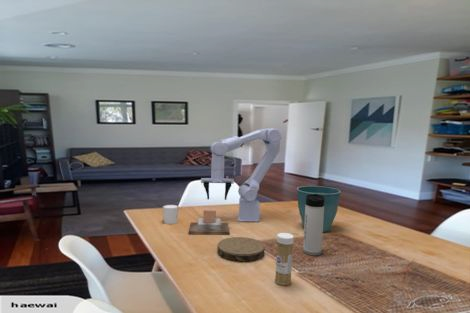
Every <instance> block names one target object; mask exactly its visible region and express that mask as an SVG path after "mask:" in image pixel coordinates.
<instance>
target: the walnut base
mask: <svg viewBox="0 0 470 313" xmlns="http://www.w3.org/2000/svg"><path fill="white" fill-rule="evenodd" d="M229 227H230V226H229V222H221V218H219V217H218V218H217V217H216V223H203V217H198V221H196V222H195V221H194V222H192V221H191V222H190V223H189V228H188V235H204V236H207V235H208V236H209V235H210V236H212V235H214V236H216V235H217V236H218V235H220V236H230V228H229Z"/></svg>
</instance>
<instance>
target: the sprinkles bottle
mask: <svg viewBox="0 0 470 313" xmlns="http://www.w3.org/2000/svg"><path fill="white" fill-rule="evenodd" d="M294 238H295V237H294V235H293V234H292V233H286V232H280V233H279V232H278V233H277V236H276V244H277V245H276V259H275V276H274V282H275V283H276V284H278V285H280V286H288V285H289V286H290V284H291V283H292V270H293V269H292V268H293V248H294V247H293V245H294V241H295V240H294Z"/></svg>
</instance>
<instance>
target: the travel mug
mask: <svg viewBox="0 0 470 313" xmlns="http://www.w3.org/2000/svg"><path fill="white" fill-rule="evenodd" d="M324 200H325V198H324V197H323V196H321V195H319V194H312V195H307V196H306V206H305V224H304V228H303V242H302V243H303V245H302V252H303V253H304V254H306V255H309V256H320V255H321V254H322V251H323V250H322V249H323V248H322V247H323V234H324V232H323V219H324Z"/></svg>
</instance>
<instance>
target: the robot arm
mask: <svg viewBox="0 0 470 313" xmlns="http://www.w3.org/2000/svg"><path fill="white" fill-rule="evenodd" d="M280 132H281V131H280V130H279V129H278V128H276V127H275V128H270V127H269V128H268V127H265V128H262V129H257V130H255V131H251V132H250V133H247V134H244V135H242V136H238V135H233V134H231V135H229V137H228V138H225V139H223V138H222V139H220V141H215V142H213V143H212V144H211V145H210V148H209V149H210V152H211V165H210V168H211V170H210V173H211V174H210V177H201V178H200V184H202V185H203V187H204V190H205V193H206V197H207V198H206V199H207V200H210V184H224V185H225V187H224V189H225V190H224V191H225V192H224V201H225V200H227V197H228V194H229V192H230V189H231V188H232V185H233V184H234V183H235V179H234V178H228V177H227V178H225V154H226V153H228V152H231V151H235V150H236V149H237V150H238V149H240V148H241V147H242V145H243V144H246V143H249V142H253V141H255V140H262V141H263V143H264V144H265V148H266V151H264V152H265V153H264V154H263V156H262V157H261V158H260V160H259V162H258V164H257V165H256V167H255V168H254V170H253V172H252V173H251V175H250V177H249V178H248V179H246V180H245V181H244V182H243V183H242V184H241V185H240V186H238V195H239V196H240V197H239V201H238V202H239V203H238V206H239V207H238V215H237V221H238V222H257V223H258V222H259V223H260V215H261V214H260V213H261V211H260V210H261V208H260V207H261V206H260V205H261V203H260V200H256V199H257V196H258V191H259V190H260V184H261V182H262V180H263V179H264V177H265V175H266V174H267V173H268V171H269V169H270V167H271V166H272V165H273V162H274V161H275V160H276V157H277V156H278V154H279V153H280V149H281V146H280V145H281V140H282V135H281V133H280Z"/></svg>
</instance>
